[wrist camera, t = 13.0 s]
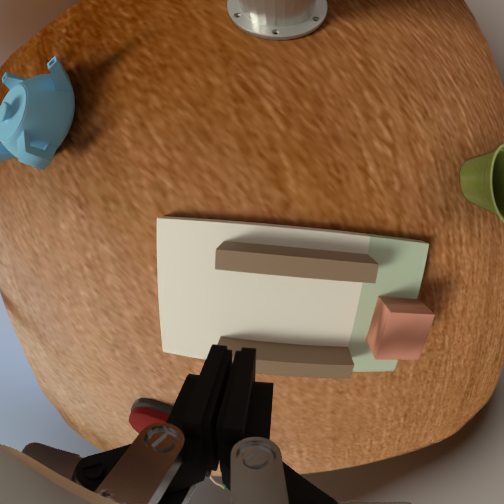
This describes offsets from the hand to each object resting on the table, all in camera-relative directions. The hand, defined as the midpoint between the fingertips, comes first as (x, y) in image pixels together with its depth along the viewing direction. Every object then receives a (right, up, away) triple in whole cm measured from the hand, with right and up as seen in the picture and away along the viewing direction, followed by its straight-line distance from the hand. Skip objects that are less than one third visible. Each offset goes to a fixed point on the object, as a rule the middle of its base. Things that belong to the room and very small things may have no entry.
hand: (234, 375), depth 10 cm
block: (+18, -4, +21) cm, 28 cm away
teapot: (-31, +26, +21) cm, 45 cm away
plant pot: (+30, +14, +17) cm, 38 cm away
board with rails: (+5, -1, +24) cm, 24 cm away
